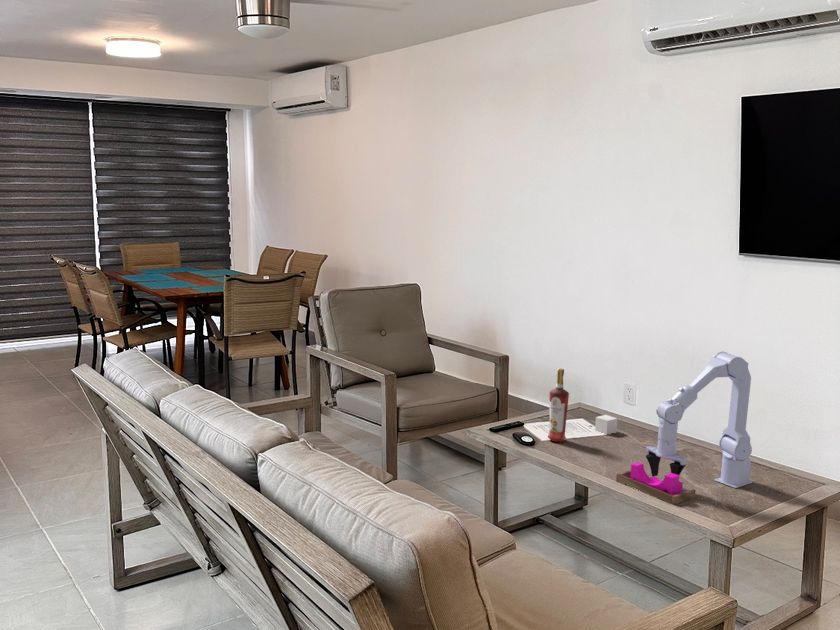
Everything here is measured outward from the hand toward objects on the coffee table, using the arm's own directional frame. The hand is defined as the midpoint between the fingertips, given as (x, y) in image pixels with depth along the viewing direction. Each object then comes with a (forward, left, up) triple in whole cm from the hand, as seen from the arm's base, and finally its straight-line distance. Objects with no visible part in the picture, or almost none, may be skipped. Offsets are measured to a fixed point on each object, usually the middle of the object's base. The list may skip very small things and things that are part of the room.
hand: (664, 479), depth 249 cm
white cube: (-28, -50, -3) cm, 58 cm away
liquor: (-3, -52, -3) cm, 53 cm away
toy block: (+5, +1, -3) cm, 6 cm away
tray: (+4, 0, -2) cm, 5 cm away
